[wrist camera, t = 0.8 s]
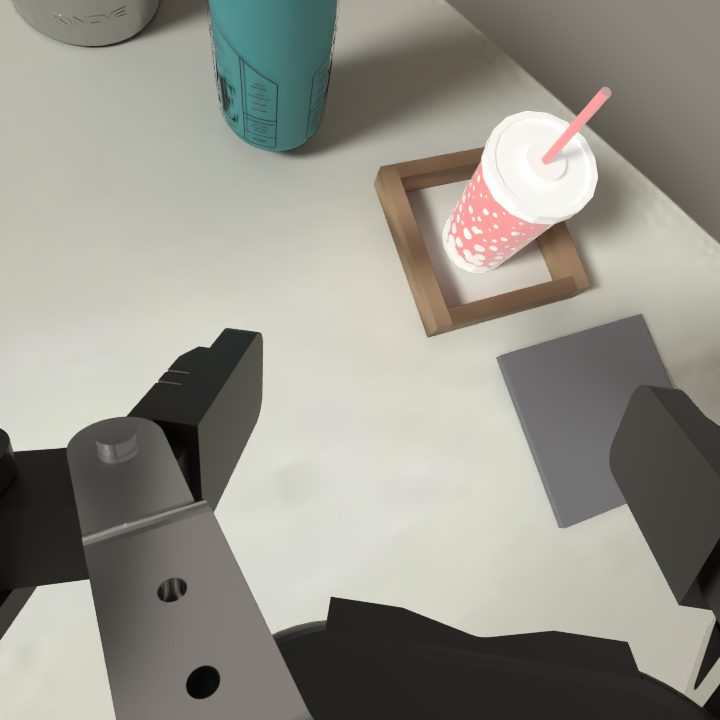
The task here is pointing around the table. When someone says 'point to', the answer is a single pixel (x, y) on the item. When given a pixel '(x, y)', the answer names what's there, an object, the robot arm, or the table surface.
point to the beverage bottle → (273, 67)
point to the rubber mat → (580, 409)
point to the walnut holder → (418, 266)
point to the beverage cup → (522, 187)
